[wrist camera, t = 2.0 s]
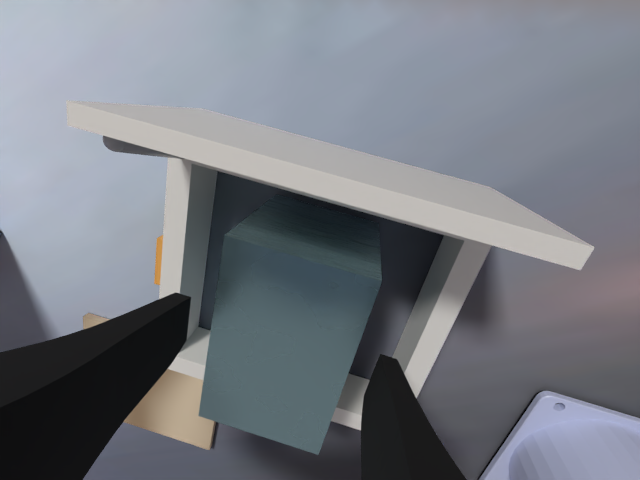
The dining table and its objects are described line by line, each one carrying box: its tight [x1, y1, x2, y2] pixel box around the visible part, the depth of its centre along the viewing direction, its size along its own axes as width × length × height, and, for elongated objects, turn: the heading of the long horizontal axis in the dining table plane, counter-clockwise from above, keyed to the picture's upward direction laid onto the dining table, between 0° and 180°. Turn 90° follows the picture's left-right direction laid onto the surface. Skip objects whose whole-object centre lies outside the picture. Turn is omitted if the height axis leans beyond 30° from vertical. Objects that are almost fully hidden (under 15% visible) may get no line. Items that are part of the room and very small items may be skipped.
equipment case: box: [154, 158, 492, 430], centre depth 16 cm, size 13×12×2 cm
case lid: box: [66, 100, 595, 270], centre depth 11 cm, size 13×2×7 cm, turn 76°
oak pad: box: [83, 313, 216, 450], centre depth 21 cm, size 9×8×1 cm
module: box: [198, 194, 382, 455], centre depth 14 cm, size 5×8×6 cm, turn 166°
